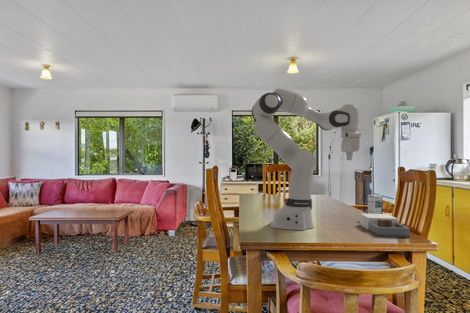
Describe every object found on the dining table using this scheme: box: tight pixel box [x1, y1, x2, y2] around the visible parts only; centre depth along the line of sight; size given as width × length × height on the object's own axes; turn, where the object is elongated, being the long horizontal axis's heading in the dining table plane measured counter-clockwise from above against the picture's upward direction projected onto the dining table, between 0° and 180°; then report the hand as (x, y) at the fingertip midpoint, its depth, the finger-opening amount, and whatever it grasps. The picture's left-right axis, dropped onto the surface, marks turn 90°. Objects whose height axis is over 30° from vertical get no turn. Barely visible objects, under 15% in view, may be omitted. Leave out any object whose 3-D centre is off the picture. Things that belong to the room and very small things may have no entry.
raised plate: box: [359, 212, 399, 231], centre depth 160 cm, size 14×12×6 cm
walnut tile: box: [378, 219, 392, 227], centre depth 152 cm, size 5×5×3 cm
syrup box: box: [367, 194, 384, 214], centre depth 179 cm, size 6×6×14 cm
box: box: [368, 222, 411, 238], centre depth 148 cm, size 14×12×4 cm
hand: (349, 160), depth 170 cm, fingers closed
